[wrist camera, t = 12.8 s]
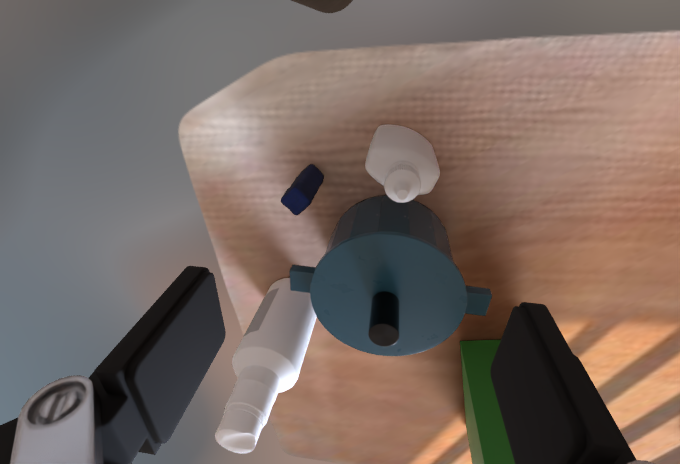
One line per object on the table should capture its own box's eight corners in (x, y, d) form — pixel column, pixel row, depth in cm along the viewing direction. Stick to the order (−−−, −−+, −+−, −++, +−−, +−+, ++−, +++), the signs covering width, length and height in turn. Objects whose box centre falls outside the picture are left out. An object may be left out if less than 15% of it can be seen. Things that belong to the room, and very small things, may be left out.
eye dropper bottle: (400, 181, 33) (401, 243, 23) (364, 136, 32) (347, 181, 22) (439, 153, 32) (457, 207, 21) (402, 105, 30) (404, 138, 20)
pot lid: (312, 219, 28) (295, 252, 24) (482, 237, 26) (498, 276, 22) (312, 336, 35) (299, 379, 30) (448, 356, 33) (455, 404, 29)
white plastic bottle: (260, 280, 43) (179, 417, 27) (310, 272, 41) (254, 414, 25) (279, 320, 45) (217, 465, 30) (327, 315, 44) (287, 465, 28)
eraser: (297, 174, 35) (277, 201, 29) (312, 160, 34) (294, 186, 28) (312, 189, 35) (294, 219, 30) (327, 176, 34) (312, 204, 29)
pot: (308, 187, 35) (284, 225, 28) (487, 204, 33) (512, 249, 26) (309, 283, 42) (290, 334, 34) (460, 302, 39) (473, 361, 32)
